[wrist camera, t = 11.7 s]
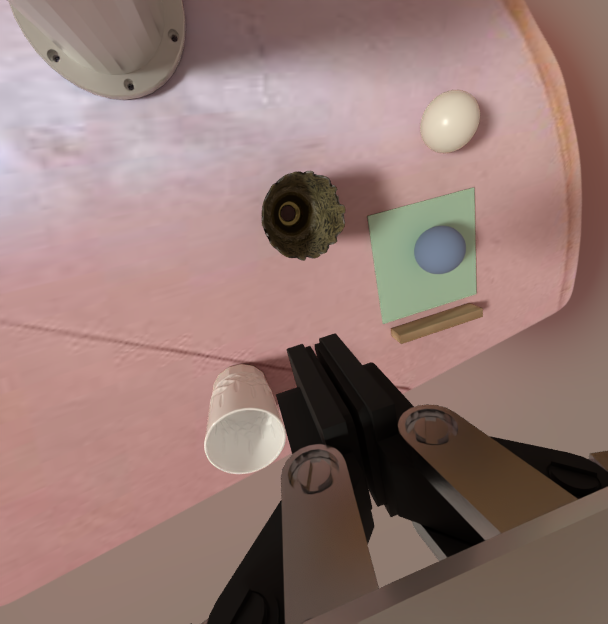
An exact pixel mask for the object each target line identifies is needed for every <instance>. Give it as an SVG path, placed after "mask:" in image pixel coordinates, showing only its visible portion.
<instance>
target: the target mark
mask: <svg viewBox="0 0 608 624" xmlns="http://www.w3.org/2000/svg"><path fill="white" fill-rule="evenodd" d="M367 217H368V224H369V231H370V238H371V245H372V252H373V259H374V266H375V273H376V280H377V287H378V294H379V300H380V307H381V314H382V321H383V324H385V323H388V322H391V321H394V320H397V319H400V318H404V317H407V316H410V315H413V314H416V313H419V312H422V311H425V310H428V309H431V308H435V307H438V306H441V305H444V304H447V303H450V302H453V301H456V300H459V299H462V298H465V297H469V296H472V295H475V294H476V250H475V200H474V188H470V189H466V190H462V191H459V192H455V193H451V194H448V195H444V196H440V197H436V198H433V199H429V200H425V201H422V202H418V203H414V204H411V205H407V206H403V207H399V208H396V209H392V210H388V211H385V212H381V213H377V214H373V215H370V216H367ZM435 226H449V227H452V228H454V229H456V230H457V231H458V232H460V234H461V235H462V236H463V238H464V240H465V243H466V253H465V256H464V259H463V261H462V262H461V263H460V265H459V266H458V267H457V268H455V269H454V270H452V271H450V272H448V273H444V274H432V273H429V272H426V271H425V270H423V269H422V268H421V267H420V266H419V265H418V263H417V262H416V259H415V256H414V248H415V244H416V241H417V240H418V238H419V237H420V235H421V234H422V233H423V232H425V231H426V230H428V229H429V228H432V227H435Z"/></svg>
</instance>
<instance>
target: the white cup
mask: <svg viewBox="0 0 608 624" xmlns="http://www.w3.org/2000/svg"><path fill="white" fill-rule="evenodd" d="M285 440H286V432H285V428H284V425H283V422H282V419H281V416H280V413H279V410H278V407H277V404H276V402H275V399H274V397H273V394H272V391H271V389H270V387H269V385H268V382H267V380H266V378H265V376H264V374H263V372H261V371H260V370H259V369H257V368H256V367H254V366H251V365H244V364H239V365H235V366H231V367H228V368H227V369H226V370H224V371H223V372H222V373H220V374H219V376H218V377H217V379H216V381H215V383H214V385H213V394H212V397H211V401H210V408H209V413H208V420H207V428H206V435H205V442H204V449H205V453H206V456H207V458H208V460H209V461H210V462H211V463H212V464H213V465H214V466H215V467H216V468H218V469H220V470H222V471H224V472H227V473H232V474H247V473H252V472H255V471H258V470H260V469H263V468H264V467H266V466H268V465H269V464H271V463H272V462H273V461H274V460H275V459H276V458H277V457H278V456H279V454H280V453H281V451H282V449H283V447H284V444H285Z"/></svg>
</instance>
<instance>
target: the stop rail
mask: <svg viewBox="0 0 608 624" xmlns="http://www.w3.org/2000/svg"><path fill="white" fill-rule="evenodd" d="M480 317H483V309H482V308H480V307H478V306H475V305H473V304H471V303H467V304H464V305H461V306H458V307H455V308H452V309H449V310H446V311H443V312H440V313H437V314H434V315H431V316H428V317H424V318H421V319H418V320H415V321H412V322H409V323H406V324H403V325H400V326H397V327H394V328H391V335H392V337H393V338H394V339H396V340H397V341H398V342H399V343H401V344H403V343H406V342H409V341H412V340H415V339H418V338H421V337H424V336H427V335H430V334H433V333H436V332H439V331H442V330H445V329H448V328H451V327H454V326H456V325H459V324H462V323H465V322H468V321H471V320H474V319H477V318H480Z"/></svg>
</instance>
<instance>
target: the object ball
mask: <svg viewBox="0 0 608 624" xmlns="http://www.w3.org/2000/svg"><path fill="white" fill-rule="evenodd" d="M465 253H466V243H465V240H464V238H463V236H462V235H461V234H460V232H458V231H457V230H456V229H454V228H452V227H449V226H435V227H432V228H429V229H428V230H426V231H425V232H423V233H422V234H421V235H420V237H419V238H418V240H417V241H416V244H415V248H414V256H415V259H416V262H417V263H418V265H419V266H420V267H421V268H422V269H423V270H425V271H426V272H429V273H432V274H444V273H448V272H450V271H452V270H454V269H455V268H457V267H458V266H459V265H460V263H461V262H462V261H463V259H464V256H465Z"/></svg>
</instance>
